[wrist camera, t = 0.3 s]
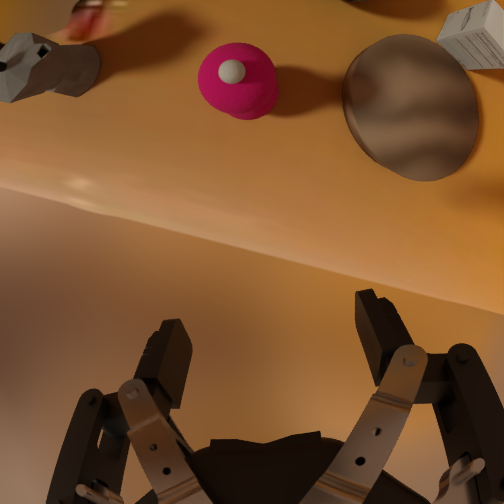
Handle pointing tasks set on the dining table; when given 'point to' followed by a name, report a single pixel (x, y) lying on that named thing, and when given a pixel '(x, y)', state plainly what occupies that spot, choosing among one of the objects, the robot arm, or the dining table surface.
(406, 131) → the walnut base
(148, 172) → the dining table surface
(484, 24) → the supplement box
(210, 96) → the pepper mill
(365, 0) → the decorative egg
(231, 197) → the dining table surface
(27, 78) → the coffeepot
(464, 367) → the robot arm
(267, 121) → the dining table surface
